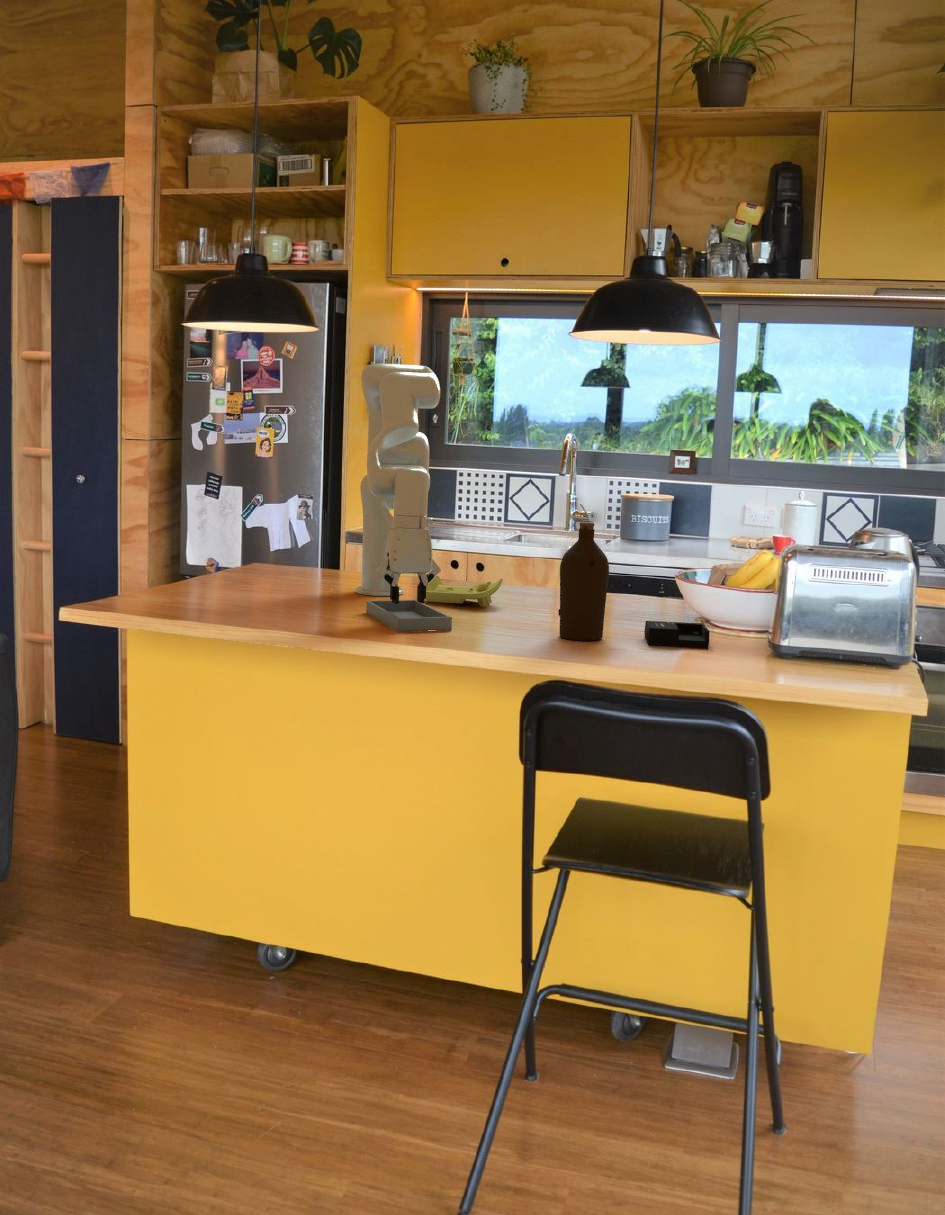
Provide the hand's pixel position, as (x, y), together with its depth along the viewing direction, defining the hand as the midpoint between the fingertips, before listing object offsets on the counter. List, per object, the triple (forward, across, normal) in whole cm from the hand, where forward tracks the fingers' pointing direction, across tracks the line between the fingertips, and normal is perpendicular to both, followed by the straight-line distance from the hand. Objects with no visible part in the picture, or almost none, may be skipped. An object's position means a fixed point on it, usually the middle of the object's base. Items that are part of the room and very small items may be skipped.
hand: (407, 602), depth 258 cm
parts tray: (+5, 0, 0) cm, 5 cm away
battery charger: (+5, -50, +33) cm, 61 cm away
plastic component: (+5, -19, -19) cm, 27 cm away
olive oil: (+5, -32, +24) cm, 40 cm away
